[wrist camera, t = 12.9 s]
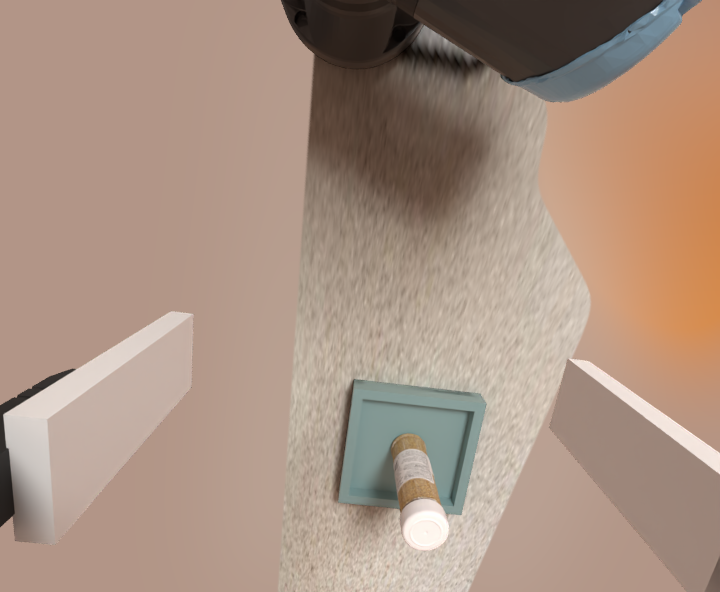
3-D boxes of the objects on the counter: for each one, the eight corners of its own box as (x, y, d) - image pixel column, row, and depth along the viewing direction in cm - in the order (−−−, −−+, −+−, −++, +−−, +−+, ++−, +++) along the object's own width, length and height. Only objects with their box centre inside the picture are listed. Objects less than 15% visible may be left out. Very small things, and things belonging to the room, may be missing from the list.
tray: (353, 379, 50) (353, 388, 47) (480, 393, 50) (486, 403, 48) (338, 488, 53) (338, 502, 51) (456, 500, 54) (461, 515, 52)
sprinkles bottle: (417, 467, 51) (438, 558, 38) (384, 456, 51) (394, 545, 38) (431, 437, 50) (457, 521, 37) (397, 426, 50) (412, 507, 37)
